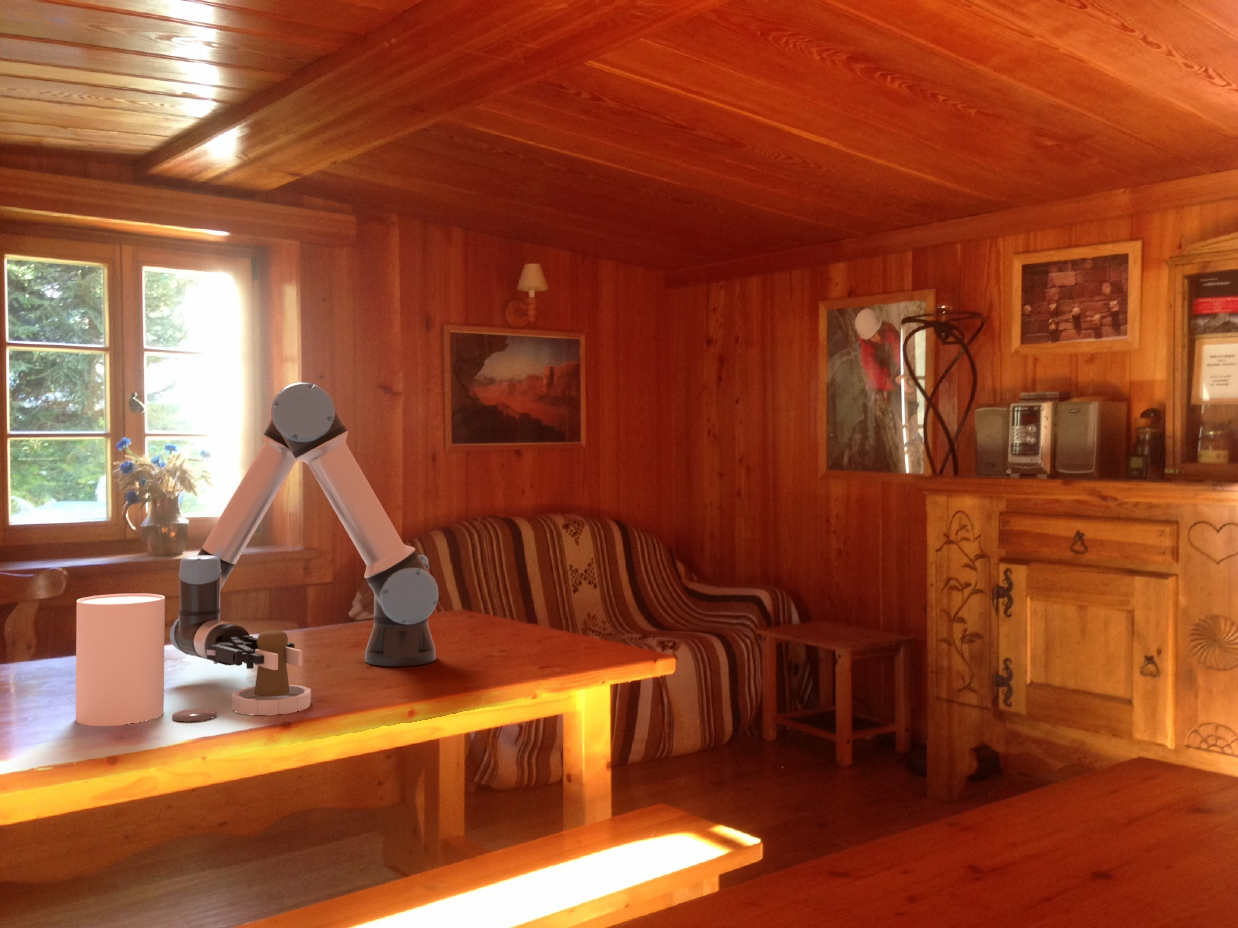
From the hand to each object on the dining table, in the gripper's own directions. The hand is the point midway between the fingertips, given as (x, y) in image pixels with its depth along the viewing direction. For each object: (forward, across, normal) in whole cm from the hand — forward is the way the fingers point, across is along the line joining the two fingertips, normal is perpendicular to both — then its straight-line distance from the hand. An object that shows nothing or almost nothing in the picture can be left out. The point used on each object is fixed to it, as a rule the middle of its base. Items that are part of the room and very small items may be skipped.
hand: (288, 660), depth 182 cm
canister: (-17, +21, -9) cm, 29 cm away
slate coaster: (-8, +13, -9) cm, 18 cm away
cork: (-5, 0, -7) cm, 9 cm away
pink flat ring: (-5, 0, -9) cm, 10 cm away
